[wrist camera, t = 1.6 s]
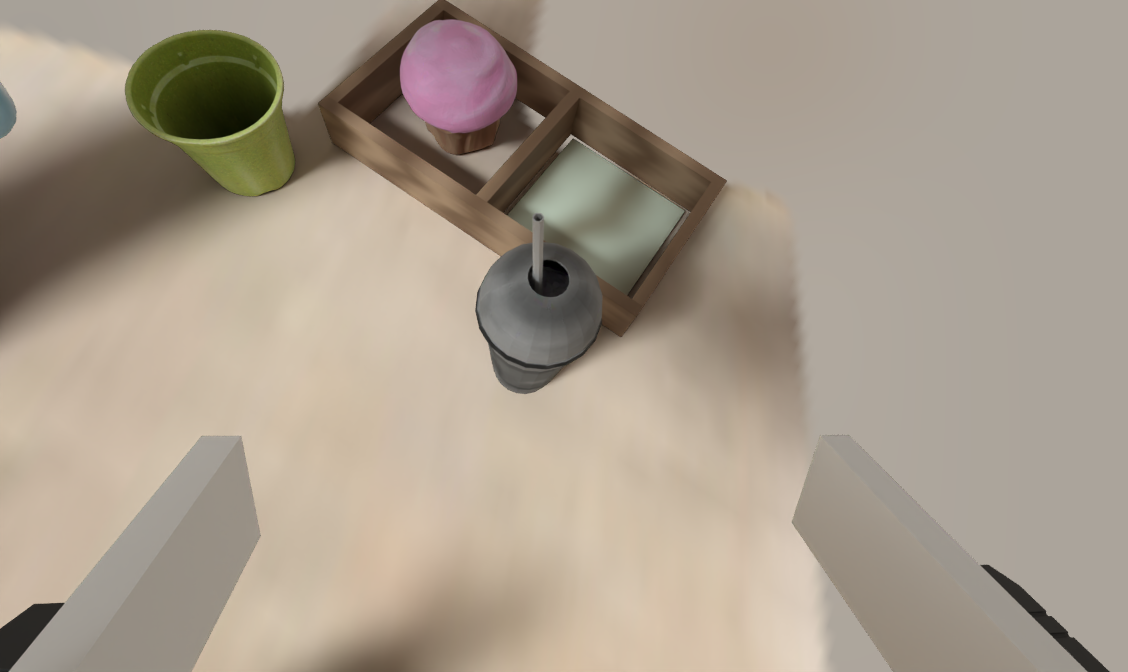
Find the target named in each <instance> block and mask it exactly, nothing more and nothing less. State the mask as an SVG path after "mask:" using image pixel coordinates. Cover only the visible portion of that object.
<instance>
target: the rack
mask: <svg viewBox="0 0 1128 672" xmlns="http://www.w3.org/2000/svg"><path fill="white" fill-rule="evenodd" d="M450 19H453V20H460V21H464V22H469V23H472V24H475V25H477V26H480V27H482V28H483V29H485V30H487V31H488V32H489V33H490V34H491V35H492V36H493V37H494V38H495V39H496V40H497V41H498V42H499V44H500V45H501V46H502V47H503V49H504V50H505V52H506V54H507V56H508V57H509V59H510V61H511V62H512V64H513V65H514V67H515V69H516V73H517V92H516V97H515V98H516V99H518V100H519V101H521V102H522V103H524V104H525V105H527V106H528V107H530V108H531V109H533V110H535V111H536V112H538V113H539V114H541V115H542V116H544V117H545V119H544V120H543V121H542V122H541V124H540V125H539V126H538V127H537V128H536V129H535V130H534V131H533V132H532V134H531V135H530V136H529V137H528V138H527V139H526V140H525V141H524V142H523V143H522V145H521V146H520V147H519V148H518V149H517V150H516V151H515V152H514V153H513V155H512V156H511V157H510V158H509V159H508V160H507V161H506V162H505V163H504V164H503V166H502V167H501V168H500V169H499V170H498V171H497V172H496V173H495V174H494V176H493V177H492V178H491V179H490V180H489V181H488V182H487V183H486V184H485V185H484V187H483V188H482V189H481V190H480V191H479V192H478V193H477V194H476V195H475V194H474V193H472V192H471V191H470V190H468V189H467V188H465V187H464V186H462V185H461V184H459V183H458V182H456V181H455V180H453V179H452V178H450V177H449V176H447V175H446V174H444V173H443V172H441V171H440V170H438V169H437V168H435V167H434V166H432V165H431V164H429V163H428V162H426V161H425V160H423V159H422V158H420V157H419V156H417V155H416V154H414V153H413V152H411V151H410V150H408V149H407V148H405V147H404V146H402V145H401V144H399V143H398V142H396V141H395V140H393V139H392V138H390V137H389V136H387V135H386V134H384V133H383V132H381V131H380V130H378V129H377V128H375V127H374V126H372V125H371V124H369V123H371V122H372V121H373V120H374V119H375V118H376V117H377V116H378V115H379V114H380V113H381V112H383V111H384V110H385V109H386V108H387V107H388V106H389V105H390V104H391V103H392V102H393V101H394V100H396V99H397V98H398V97H399V96H400V95H401V94H402V89H401V82H400V65H401V59H402V56H403V53H404V51H405V49H406V47H407V45H408V44H409V42H410V41H411V39H412V38H413V36H414V35H415V33H416V32H417V31H418V30H419V29H420V28H421V27H423V26H425V25H426V24H428V23H430V22H432V21H435V20H450ZM318 105H319V108H320V111H321V113H322V116H323V119H324V121H325V124H326V127H327V130H328V132H329V135H330V138H331V141H332V143H334V144H335V145H337V146H338V147H340V148H341V149H343V150H344V151H345V152H347V153H348V154H350V155H351V156H353V157H354V158H356V159H357V160H359V161H360V162H362V163H363V164H365V165H366V166H368V167H369V168H371V169H372V170H374V171H375V172H377V173H378V174H380V175H381V176H383V177H384V178H386V179H387V180H389V181H390V182H391V183H393V184H394V185H396V186H397V187H399V188H400V189H402V190H403V191H405V192H406V193H408V194H409V195H411V196H412V197H414V198H415V199H417V200H418V201H420V202H421V203H423V204H424V205H426V206H427V207H429V208H430V209H432V210H433V211H434V212H436V213H437V214H439V215H440V216H442V217H443V218H445V219H446V220H448V221H449V222H451V223H452V224H454V225H455V226H457V227H458V228H460V229H461V230H463V231H464V232H466V233H467V234H469V235H470V236H472V237H473V238H475V239H476V240H477V241H479V242H480V243H482V244H483V245H485V246H486V247H488V248H489V249H491V250H492V251H494V252H495V253H497V254H498V255H500V256H502V255H503V254H504V253H506V252H508V251H510V250H512V249H514V248H516V247H518V246H520V245H522V244H527V243H533V215H534V214H535V213H542V215H543V216H544V239H543V242H548V243H556V244H559V245H561V246H564V247H566V248H569V249H571V250H573V251H574V252H575V253H577V254H578V255H579V256H580V257H582V258H583V259H584V260H585V261H586V262H587V263H588V264H589V266H590V267H591V269H592V270H593V272H594V273H595V275H596V276H597V279H598V282H599V286H600V289H601V292H602V325H604V326H605V327H607V328H608V329H609V330H611V331H612V332H614V333H615V334H617V335H618V336H620V337H622V335H623V334H624V333H625V331H626V330H627V329H628V327H629V326H630V325H631V323H632V322H633V321H634V319H635V318H636V317H637V315H638V314H639V312H640V311H641V309H642V308H643V306H644V305H645V303H646V302H647V300H648V299H649V297H650V296H651V294H652V293H653V291H654V290H655V288H656V287H657V285H658V284H659V282H660V281H661V279H662V278H663V276H664V275H665V273H666V272H667V270H668V269H669V267H670V266H671V264H672V263H673V261H674V260H675V258H676V257H677V255H678V254H679V252H680V251H681V249H682V248H683V246H684V245H685V243H686V242H687V240H688V239H689V237H690V236H691V234H692V233H693V231H694V230H695V228H696V227H697V225H698V224H699V222H700V221H701V219H702V218H703V216H704V215H705V213H706V212H707V210H708V209H709V207H710V206H711V204H712V203H713V201H714V200H715V198H716V197H717V195H718V194H719V192H720V191H721V189H722V188H723V186H724V185H725V183H726V182H727V181H726V180H725V179H723V178H722V177H720V176H719V175H717V174H716V173H714V172H712V171H711V170H709V169H708V168H706V167H704V166H703V165H701V164H700V163H698V162H697V161H695V160H694V159H692V158H691V157H689V156H688V155H686V154H684V153H683V152H681V151H680V150H678V149H677V148H675V147H673V146H672V145H670V144H669V143H667V142H666V141H664V140H663V139H661V138H659V137H658V136H656V135H654V134H653V133H652V132H650V131H649V130H647V129H645V128H644V127H642V126H641V125H639V124H637V123H636V122H635V121H633V120H631V119H630V118H628V117H627V116H625V115H623V114H622V113H620V112H619V111H617V110H616V109H614V108H613V107H611V106H610V105H608V104H606V103H605V102H603V101H602V100H600V99H599V98H597V97H595V96H594V95H592V94H591V93H589V92H588V91H586V90H585V89H583V88H581V87H580V86H578V85H577V84H575V83H574V82H572V81H571V80H569V79H568V78H566V77H564V76H563V75H561V74H560V73H558V72H557V71H555V70H553V69H552V68H550V67H548V66H547V65H546V64H544V63H542V62H541V61H539V60H538V59H536V58H535V57H533V56H532V55H530V54H529V53H527V52H525V51H524V50H522V49H521V48H519V47H518V46H516V45H515V44H513V43H511V42H510V41H508V40H507V39H505V38H504V37H502V36H500V35H499V34H497V33H496V32H494V31H493V30H491V29H490V28H488V27H486V26H485V25H483V24H482V23H480V22H479V21H477V20H476V19H474V18H472V17H471V16H469V15H468V14H466V13H465V12H463V11H462V10H460V9H458V8H457V7H455V6H454V5H452V4H451V3H449V2H447V1H446V0H438V1H437V2H436V3H434V4H433V5H432V6H431V7H430V8H429V9H427V10H426V11H425V12H424V13H423V14H422V15H420V16H419V17H418V18H417V19H416V20H415V21H413V22H412V23H411V24H410V25H409V26H408V27H406V28H405V29H404V30H403V31H402V32H401V33H399V34H398V35H397V36H396V37H395V38H394V39H392V40H391V41H390V42H389V43H388V44H387V45H385V46H384V47H383V48H382V49H381V50H380V51H378V52H377V53H376V54H375V55H374V56H373V57H371V58H370V59H369V60H368V61H367V62H366V63H364V64H363V65H362V66H361V67H360V68H359V69H357V70H356V71H355V72H354V73H353V74H352V75H350V76H349V77H348V78H347V79H346V80H345V81H343V82H342V83H341V84H340V85H339V86H338V87H336V88H335V89H334V90H333V91H332V92H331V93H329V94H328V95H327V96H326V97H325V98H324V99H322V100H321V101H320V102H319V103H318ZM570 134H572V135H573V136H575V137H576V138H578V139H579V140H581V141H582V142H584V143H586V144H587V145H589V146H590V147H592V148H593V149H595V150H596V151H598V152H599V153H601V154H602V155H604V156H605V157H607V158H608V159H610V160H612V161H613V162H615V163H616V164H618V165H619V166H621V167H622V168H624V169H625V170H627V171H628V172H630V173H632V174H633V175H635V176H636V177H638V178H639V179H641V180H642V181H644V182H645V183H647V184H649V185H650V186H652V187H653V188H655V189H656V190H658V191H659V192H661V193H662V194H664V195H665V196H667V197H669V198H670V199H672V200H673V201H675V202H676V203H678V204H679V205H681V206H682V207H684V208H685V209H687V210H689V211H690V212H691V213H690V214H689V216H688V217H687V219H686V220H685V222H684V223H683V224H682V226H681V227H680V229H679V230H678V232H677V233H676V235H675V236H674V238H673V239H672V241H671V242H670V244H669V245H668V246H667V248H666V249H665V251H664V252H663V254H662V255H661V257H660V258H659V260H658V261H657V263H656V264H655V266H654V267H653V269H652V270H651V271H650V273H649V274H648V276H647V277H646V279H645V280H644V282H643V283H642V285H641V286H640V288H639V289H638V291H637V292H636V293H635V295H634V296H633V298H632V299H631V298H630V297H628V296H627V295H628V293H629V292H630V290H631V289H632V287H633V286H634V285H635V283H636V282H637V280H638V279H639V277H640V276H641V274H642V273H643V271H644V270H645V269H646V267H647V266H648V264H649V263H650V261H651V260H652V258H653V257H654V255H655V254H656V253H657V251H658V250H659V248H660V247H661V245H662V244H663V242H664V241H665V239H666V238H667V237H668V235H669V234H670V232H671V231H672V229H673V228H674V226H675V225H676V223H677V222H678V221H679V219H680V218H681V216H682V215H683V213H684V212H685V211H684V210H683V209H681V208H680V207H678V206H676V205H675V204H673V203H672V202H670V201H669V200H667V199H666V198H664V197H663V196H661V195H660V194H658V193H656V192H655V191H653V190H652V189H650V188H649V187H647V186H646V185H644V184H643V183H641V182H640V181H638V180H636V179H635V178H633V177H632V176H630V175H629V174H627V173H626V172H624V171H623V170H621V169H620V168H618V167H616V166H615V165H613V164H612V163H610V162H609V161H607V160H606V159H604V158H603V157H601V156H600V155H598V154H596V153H595V152H593V151H592V150H590V149H589V148H587V147H586V146H584V145H583V144H581V143H580V142H578V141H576V140H575V139H572V140H571V141H570V143H569V144H568V145H567V146H566V147H565V148H564V149H563V151H562V152H561V153H560V154H559V155H558V156H557V158H556V159H555V160H554V161H553V162H552V163H551V165H550V166H549V167H548V168H547V169H546V170H545V172H544V173H543V174H542V175H541V176H540V177H539V179H538V180H537V181H536V182H535V183H534V184H533V186H532V187H531V188H530V189H529V190H528V191H527V193H526V194H525V195H524V196H523V197H522V198H521V200H520V201H519V202H518V203H517V204H516V205H515V207H514V208H513V209H512V210H511V211H510V212H509V214H508V215H505V214H504V213H503V212H504V211H505V210H506V209H507V208H508V206H509V205H510V204H511V203H512V202H513V201H514V199H515V198H516V197H517V196H518V195H519V194H520V192H521V191H522V190H523V189H524V188H525V187H526V186H527V184H528V183H529V182H530V181H531V180H532V179H533V177H534V176H535V175H536V174H537V173H538V172H539V170H540V169H541V168H542V167H543V166H544V165H545V164H546V162H547V161H548V160H549V159H550V158H551V157H552V155H553V154H554V153H555V152H556V151H557V150H558V148H559V147H560V146H561V145H562V144H563V143H564V142H565V140H566V139H567V138H568V137H569V136H570Z"/></svg>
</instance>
